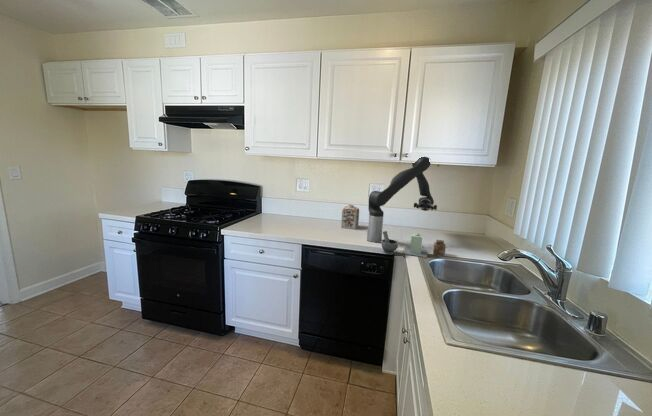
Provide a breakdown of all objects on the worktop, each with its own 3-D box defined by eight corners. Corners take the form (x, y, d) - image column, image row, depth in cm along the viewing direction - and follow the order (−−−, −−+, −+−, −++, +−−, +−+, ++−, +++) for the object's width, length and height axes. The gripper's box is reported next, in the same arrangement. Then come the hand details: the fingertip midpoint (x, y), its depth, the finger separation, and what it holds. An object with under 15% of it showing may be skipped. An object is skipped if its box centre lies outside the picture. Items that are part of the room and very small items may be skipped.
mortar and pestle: (400, 254, 157) (402, 234, 155) (387, 256, 153) (389, 236, 151) (388, 248, 167) (389, 229, 165) (375, 250, 163) (377, 230, 161)
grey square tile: (403, 254, 158) (403, 253, 158) (405, 247, 170) (405, 246, 169) (426, 258, 153) (426, 257, 153) (427, 251, 165) (427, 250, 165)
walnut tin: (433, 254, 159) (434, 241, 157) (433, 251, 164) (434, 238, 163) (444, 256, 157) (446, 243, 155) (444, 253, 162) (445, 240, 161)
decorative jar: (340, 227, 213) (341, 205, 209) (344, 224, 224) (345, 203, 220) (355, 229, 209) (357, 206, 206) (358, 226, 220) (360, 204, 217)
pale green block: (409, 252, 160) (411, 234, 158) (410, 249, 165) (412, 231, 163) (420, 254, 158) (422, 235, 156) (420, 250, 163) (422, 233, 161)
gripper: (415, 198, 189) (413, 200, 174) (437, 200, 184) (437, 203, 169) (414, 208, 191) (412, 212, 176) (435, 211, 186) (436, 215, 171)
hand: (424, 207), depth 172 cm, fingers open, 8 cm apart
